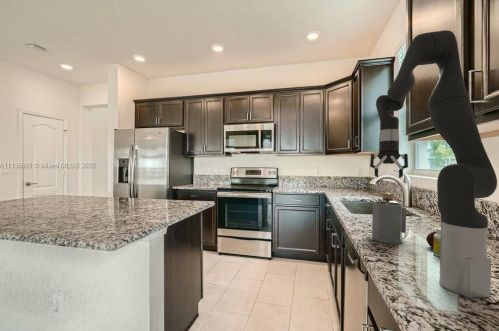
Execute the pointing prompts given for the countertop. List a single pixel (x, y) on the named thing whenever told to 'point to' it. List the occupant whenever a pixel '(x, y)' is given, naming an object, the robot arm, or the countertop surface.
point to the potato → (431, 239)
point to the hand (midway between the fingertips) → (388, 177)
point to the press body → (388, 222)
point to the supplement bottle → (437, 242)
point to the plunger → (387, 197)
